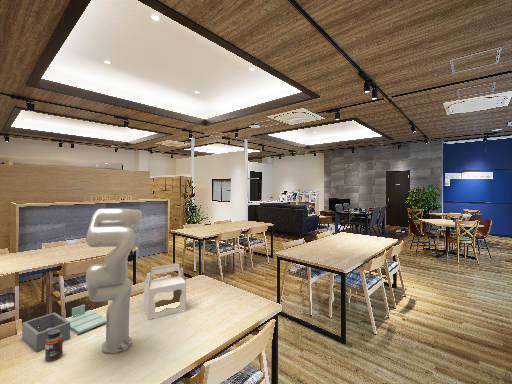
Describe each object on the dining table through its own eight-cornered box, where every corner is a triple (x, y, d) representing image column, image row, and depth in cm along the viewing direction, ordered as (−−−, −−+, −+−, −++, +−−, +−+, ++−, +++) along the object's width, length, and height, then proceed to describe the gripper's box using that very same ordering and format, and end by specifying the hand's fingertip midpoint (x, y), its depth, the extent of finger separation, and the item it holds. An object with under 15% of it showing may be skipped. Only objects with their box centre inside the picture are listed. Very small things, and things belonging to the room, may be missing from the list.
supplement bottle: (60, 351, 116) (60, 326, 116) (64, 356, 112) (64, 331, 112) (43, 357, 111) (43, 331, 111) (46, 363, 107) (47, 336, 107)
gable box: (147, 320, 145) (148, 270, 144) (142, 311, 155) (143, 264, 155) (186, 310, 157) (187, 264, 157) (179, 302, 168) (180, 259, 168)
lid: (108, 323, 141) (109, 310, 141) (78, 336, 128) (78, 321, 128) (90, 313, 151) (91, 301, 151) (61, 324, 139) (61, 310, 139)
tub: (69, 338, 125) (70, 322, 125) (36, 352, 114) (36, 334, 114) (54, 327, 135) (54, 312, 135) (22, 339, 124) (22, 322, 124)
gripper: (140, 231, 148) (140, 261, 148) (123, 228, 157) (123, 256, 157) (128, 232, 141) (127, 264, 141) (111, 229, 151) (110, 258, 151)
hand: (125, 259), depth 149 cm, fingers open, 9 cm apart
